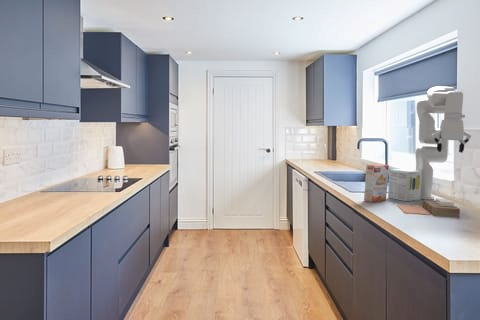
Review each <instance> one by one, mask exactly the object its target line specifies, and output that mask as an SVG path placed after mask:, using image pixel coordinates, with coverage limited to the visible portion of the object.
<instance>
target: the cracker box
mask: <svg viewBox="0 0 480 320" xmlns="http://www.w3.org/2000/svg"><path fill="white" fill-rule="evenodd" d="M389 172H390V167H389V164H381V163H380V164H378V163H377V164H366V168H365V179H364V180H365V181H364V184H365V185H364V194H363V195H364V197H363V201H364V202H367V203H368V202H370V203H376V202H383V201H387V196H388V184H389Z"/></svg>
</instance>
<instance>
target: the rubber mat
mask: <svg viewBox="0 0 480 320" xmlns="http://www.w3.org/2000/svg"><path fill="white" fill-rule="evenodd" d="M396 206H397V207H398V209H400V210H401V212H403V214H412V215H425V216H430V215H431V213H429V212H428V211H427V210H426V209H424V208H423V207H422V206H421V205H412V204H411V205H408V204H396Z"/></svg>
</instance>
